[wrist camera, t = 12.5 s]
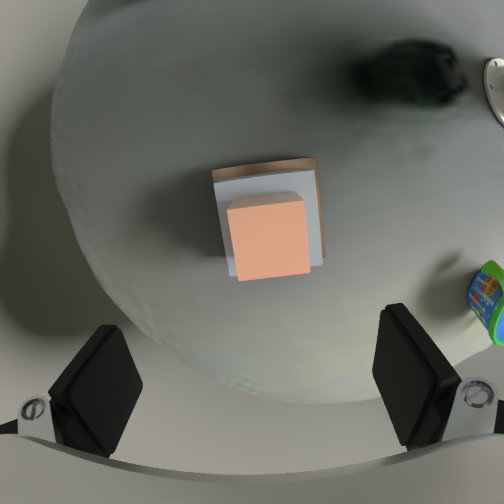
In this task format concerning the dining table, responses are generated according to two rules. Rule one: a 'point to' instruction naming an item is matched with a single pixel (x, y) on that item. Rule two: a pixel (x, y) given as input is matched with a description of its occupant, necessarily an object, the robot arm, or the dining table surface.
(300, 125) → the dining table surface
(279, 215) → the terracotta cube
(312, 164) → the walnut slab
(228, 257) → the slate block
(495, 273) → the snack cup
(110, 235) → the dining table surface
